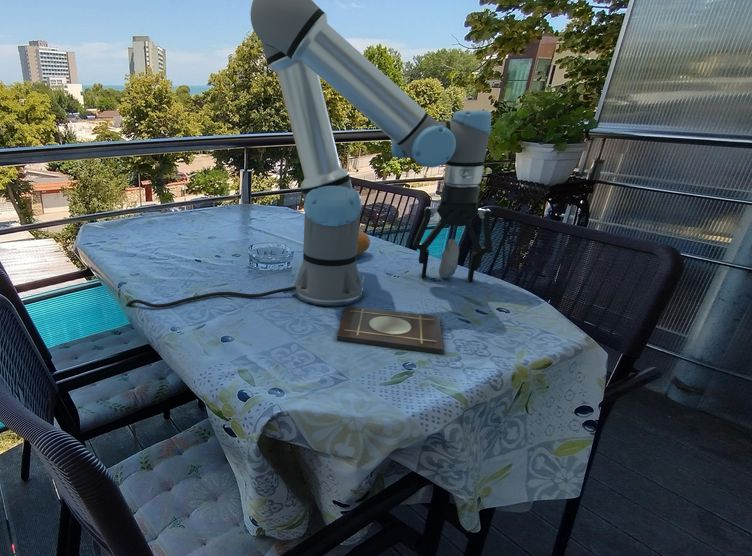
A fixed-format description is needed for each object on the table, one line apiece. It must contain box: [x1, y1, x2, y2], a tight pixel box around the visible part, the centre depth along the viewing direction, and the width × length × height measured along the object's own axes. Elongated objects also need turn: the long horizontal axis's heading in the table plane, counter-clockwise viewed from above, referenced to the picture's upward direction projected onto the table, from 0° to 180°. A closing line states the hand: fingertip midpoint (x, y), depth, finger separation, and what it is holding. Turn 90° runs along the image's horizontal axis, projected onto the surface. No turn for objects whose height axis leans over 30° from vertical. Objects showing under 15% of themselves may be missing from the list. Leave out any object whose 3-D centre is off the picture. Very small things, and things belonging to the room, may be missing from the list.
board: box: [336, 305, 444, 355], centre depth 89 cm, size 18×14×1 cm
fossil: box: [438, 238, 460, 279], centre depth 111 cm, size 6×4×10 cm, turn 169°
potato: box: [357, 230, 371, 256], centre depth 130 cm, size 9×11×8 cm
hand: (446, 277), depth 113 cm, fingers open, 10 cm apart
